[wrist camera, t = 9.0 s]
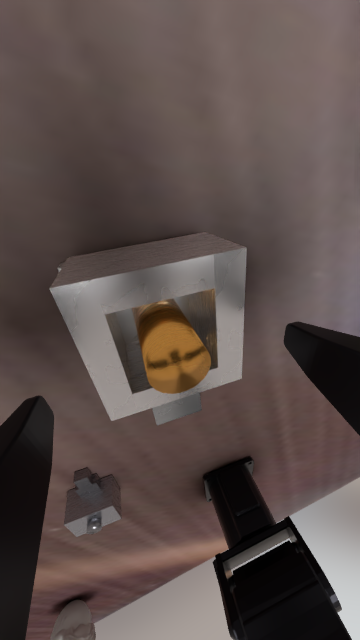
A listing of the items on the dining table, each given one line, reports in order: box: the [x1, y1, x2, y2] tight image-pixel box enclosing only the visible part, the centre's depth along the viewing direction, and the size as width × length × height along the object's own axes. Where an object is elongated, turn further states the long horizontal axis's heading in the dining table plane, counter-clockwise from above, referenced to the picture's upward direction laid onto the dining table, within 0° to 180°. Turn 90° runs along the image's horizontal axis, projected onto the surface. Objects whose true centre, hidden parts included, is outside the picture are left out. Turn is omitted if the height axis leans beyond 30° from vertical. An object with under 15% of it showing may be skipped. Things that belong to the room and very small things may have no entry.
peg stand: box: [57, 262, 211, 425], centre depth 12 cm, size 10×8×6 cm
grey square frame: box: [49, 232, 247, 421], centre depth 11 cm, size 7×7×4 cm
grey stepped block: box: [64, 468, 122, 537], centre depth 19 cm, size 5×4×3 cm
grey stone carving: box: [50, 600, 96, 640], centre depth 31 cm, size 6×7×7 cm
